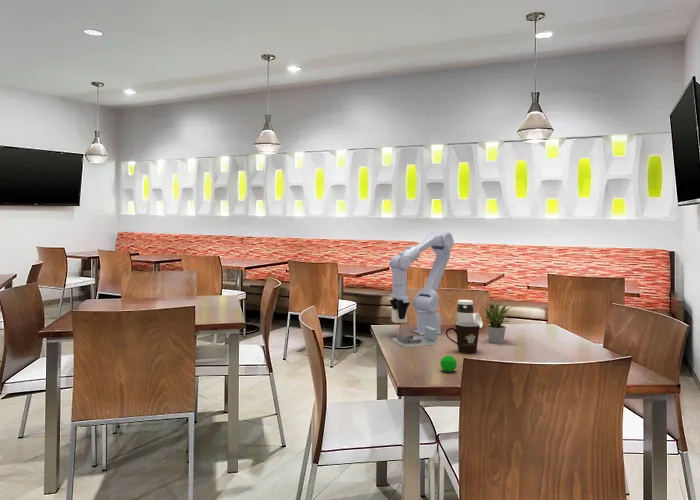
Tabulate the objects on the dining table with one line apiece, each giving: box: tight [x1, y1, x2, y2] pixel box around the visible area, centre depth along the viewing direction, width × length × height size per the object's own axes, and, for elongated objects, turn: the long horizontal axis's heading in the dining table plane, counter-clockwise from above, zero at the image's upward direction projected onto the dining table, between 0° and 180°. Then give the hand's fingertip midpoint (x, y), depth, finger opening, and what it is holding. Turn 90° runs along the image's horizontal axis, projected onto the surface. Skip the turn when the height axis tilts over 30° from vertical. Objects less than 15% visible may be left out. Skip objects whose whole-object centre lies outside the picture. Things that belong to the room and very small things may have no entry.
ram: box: [423, 326, 438, 341], centre depth 204 cm, size 2×7×4 cm, turn 17°
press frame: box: [392, 333, 439, 348], centre depth 202 cm, size 14×12×3 cm
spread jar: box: [456, 299, 483, 329], centre depth 234 cm, size 12×11×12 cm
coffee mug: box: [445, 322, 481, 355], centre depth 188 cm, size 12×9×10 cm
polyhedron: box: [439, 355, 457, 373], centre depth 162 cm, size 5×5×5 cm
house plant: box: [480, 302, 518, 345], centre depth 202 cm, size 14×14×16 cm
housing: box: [391, 308, 408, 324], centre depth 212 cm, size 5×4×5 cm
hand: (399, 317), depth 212 cm, fingers closed on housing, 4 cm apart
